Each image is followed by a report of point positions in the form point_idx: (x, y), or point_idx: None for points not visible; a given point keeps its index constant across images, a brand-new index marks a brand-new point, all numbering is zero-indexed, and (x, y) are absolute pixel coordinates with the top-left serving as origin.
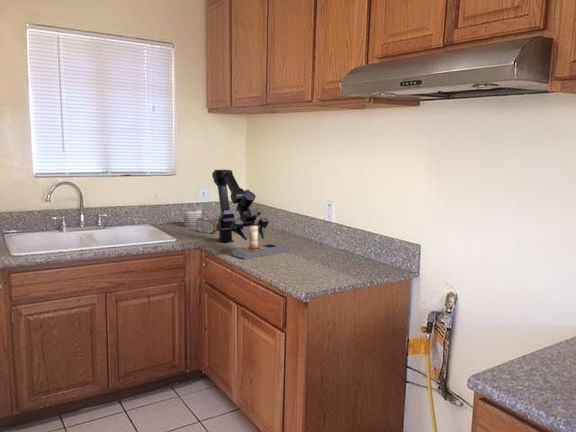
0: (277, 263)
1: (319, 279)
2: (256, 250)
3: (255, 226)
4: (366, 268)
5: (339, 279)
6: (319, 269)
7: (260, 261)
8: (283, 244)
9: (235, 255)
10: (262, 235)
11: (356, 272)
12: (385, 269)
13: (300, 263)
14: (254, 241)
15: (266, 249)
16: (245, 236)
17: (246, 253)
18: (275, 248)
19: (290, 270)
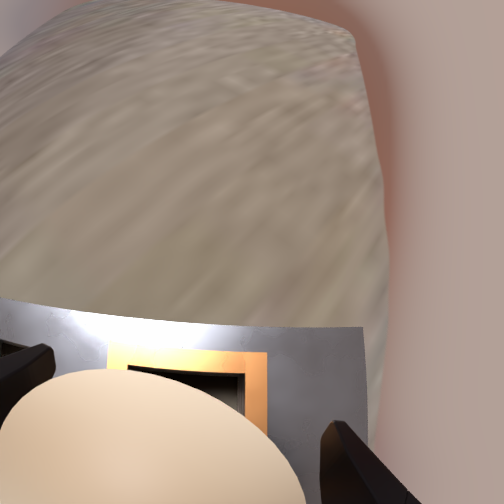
0: (227, 149)
1: (260, 25)
2: (214, 350)
3: (107, 457)
4: (86, 24)
5: (220, 11)
6: (174, 45)
7: (279, 234)
8: None
9: None
10: (31, 378)
11: (136, 15)
12: (75, 16)
13: (144, 98)
14: (206, 393)
15: (110, 315)
16: (361, 446)
17: (346, 328)
18: (23, 302)
19: (264, 76)
